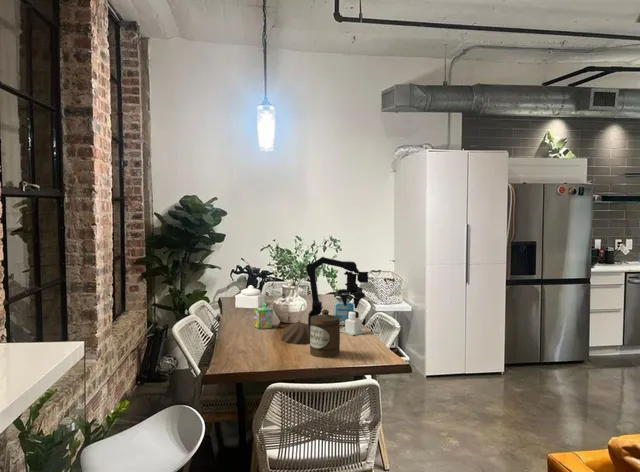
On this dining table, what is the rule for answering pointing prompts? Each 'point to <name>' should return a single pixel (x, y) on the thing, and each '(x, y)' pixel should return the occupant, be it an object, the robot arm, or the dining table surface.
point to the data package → (343, 310)
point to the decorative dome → (297, 333)
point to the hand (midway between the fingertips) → (350, 307)
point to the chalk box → (263, 317)
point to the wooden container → (325, 335)
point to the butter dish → (250, 298)
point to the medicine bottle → (353, 322)
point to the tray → (352, 333)
